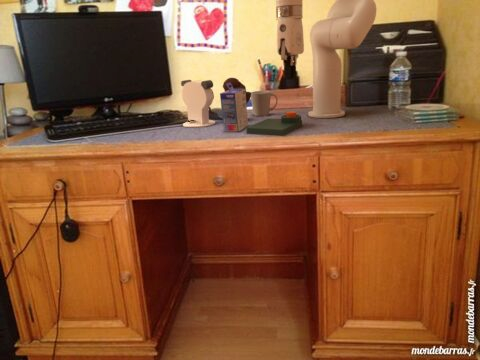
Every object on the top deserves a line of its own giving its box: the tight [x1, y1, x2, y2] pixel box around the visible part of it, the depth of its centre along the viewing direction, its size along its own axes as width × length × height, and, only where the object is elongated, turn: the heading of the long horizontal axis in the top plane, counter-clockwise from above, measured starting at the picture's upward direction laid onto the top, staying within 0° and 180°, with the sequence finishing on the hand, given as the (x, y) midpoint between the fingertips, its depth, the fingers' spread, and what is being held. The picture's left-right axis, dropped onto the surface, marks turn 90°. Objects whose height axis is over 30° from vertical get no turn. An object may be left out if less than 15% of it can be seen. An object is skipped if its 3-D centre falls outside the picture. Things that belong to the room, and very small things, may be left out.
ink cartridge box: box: [219, 83, 249, 133], centre depth 123 cm, size 10×6×14 cm, turn 161°
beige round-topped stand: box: [180, 79, 216, 128], centre depth 134 cm, size 12×11×15 cm
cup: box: [250, 90, 279, 117], centre depth 145 cm, size 8×10×8 cm
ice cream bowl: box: [222, 77, 251, 105], centre depth 136 cm, size 11×11×15 cm
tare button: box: [285, 111, 297, 117], centre depth 121 cm, size 3×3×2 cm
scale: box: [246, 114, 303, 137], centre depth 120 cm, size 15×13×4 cm
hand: (290, 79), depth 117 cm, fingers closed
